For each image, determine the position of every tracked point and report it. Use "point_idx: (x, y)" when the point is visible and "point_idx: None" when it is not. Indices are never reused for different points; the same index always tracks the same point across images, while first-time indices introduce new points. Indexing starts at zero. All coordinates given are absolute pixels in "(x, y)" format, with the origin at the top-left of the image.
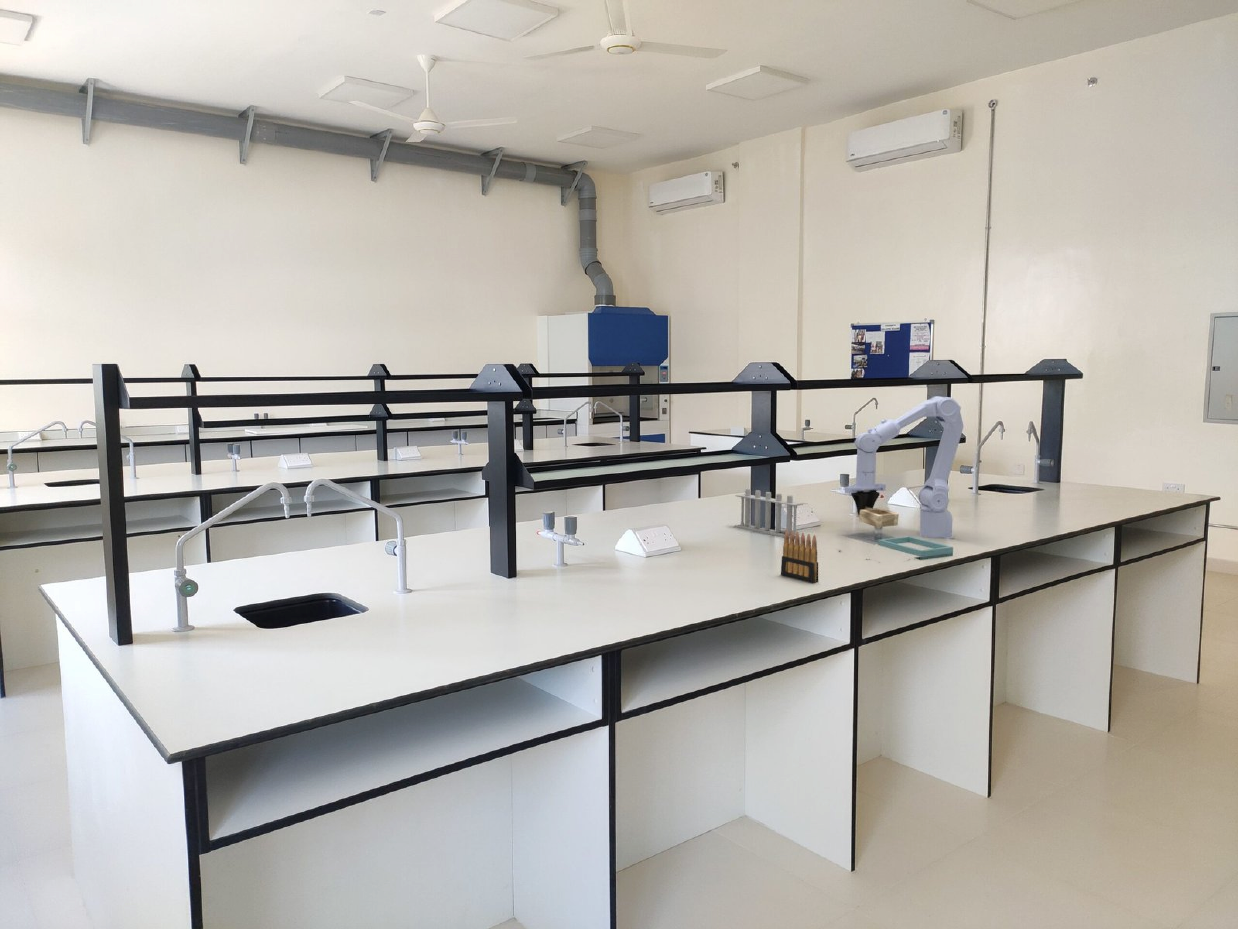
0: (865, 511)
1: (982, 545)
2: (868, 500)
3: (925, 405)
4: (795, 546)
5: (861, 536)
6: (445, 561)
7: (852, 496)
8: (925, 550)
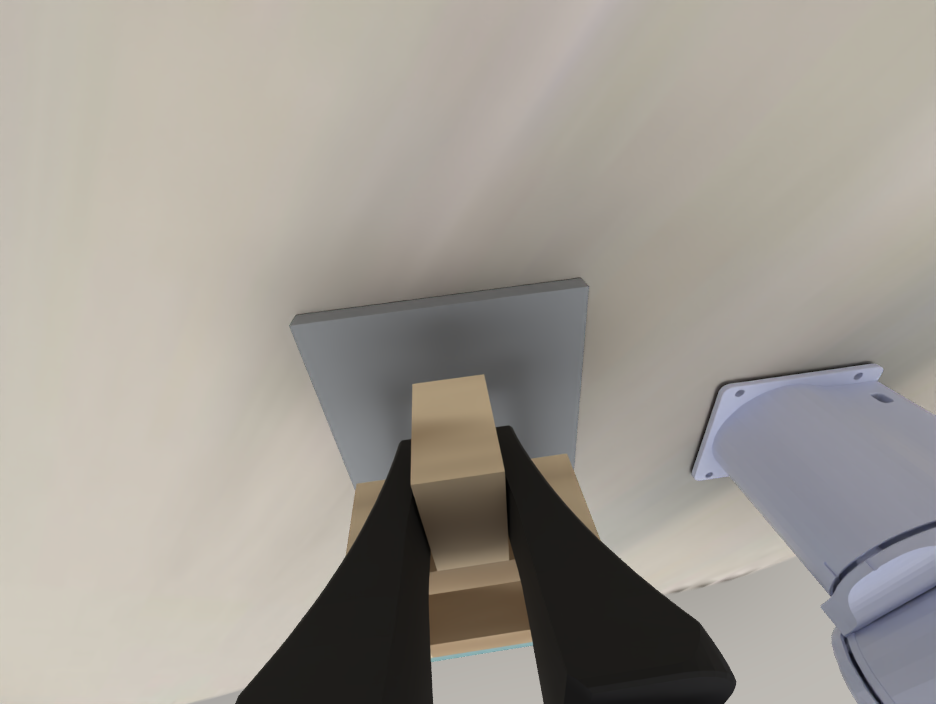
0: None
1: (775, 538)
2: (530, 604)
3: None
4: None
5: (408, 377)
6: None
7: (272, 667)
8: (441, 659)
